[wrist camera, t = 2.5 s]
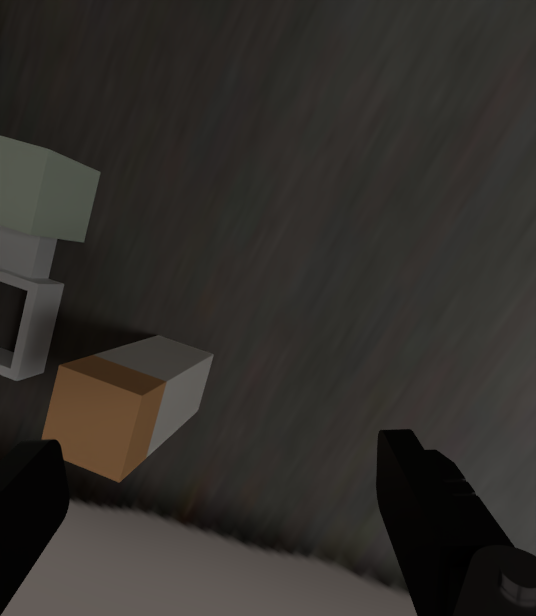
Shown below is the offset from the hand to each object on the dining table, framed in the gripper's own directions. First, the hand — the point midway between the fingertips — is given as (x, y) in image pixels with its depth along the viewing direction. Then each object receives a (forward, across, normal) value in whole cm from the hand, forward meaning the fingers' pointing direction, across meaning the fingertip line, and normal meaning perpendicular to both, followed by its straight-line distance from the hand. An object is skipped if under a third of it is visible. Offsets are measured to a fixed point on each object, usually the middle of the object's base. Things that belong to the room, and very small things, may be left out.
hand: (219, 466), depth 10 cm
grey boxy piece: (+27, +22, -3) cm, 35 cm away
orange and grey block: (+22, +7, +7) cm, 24 cm away
